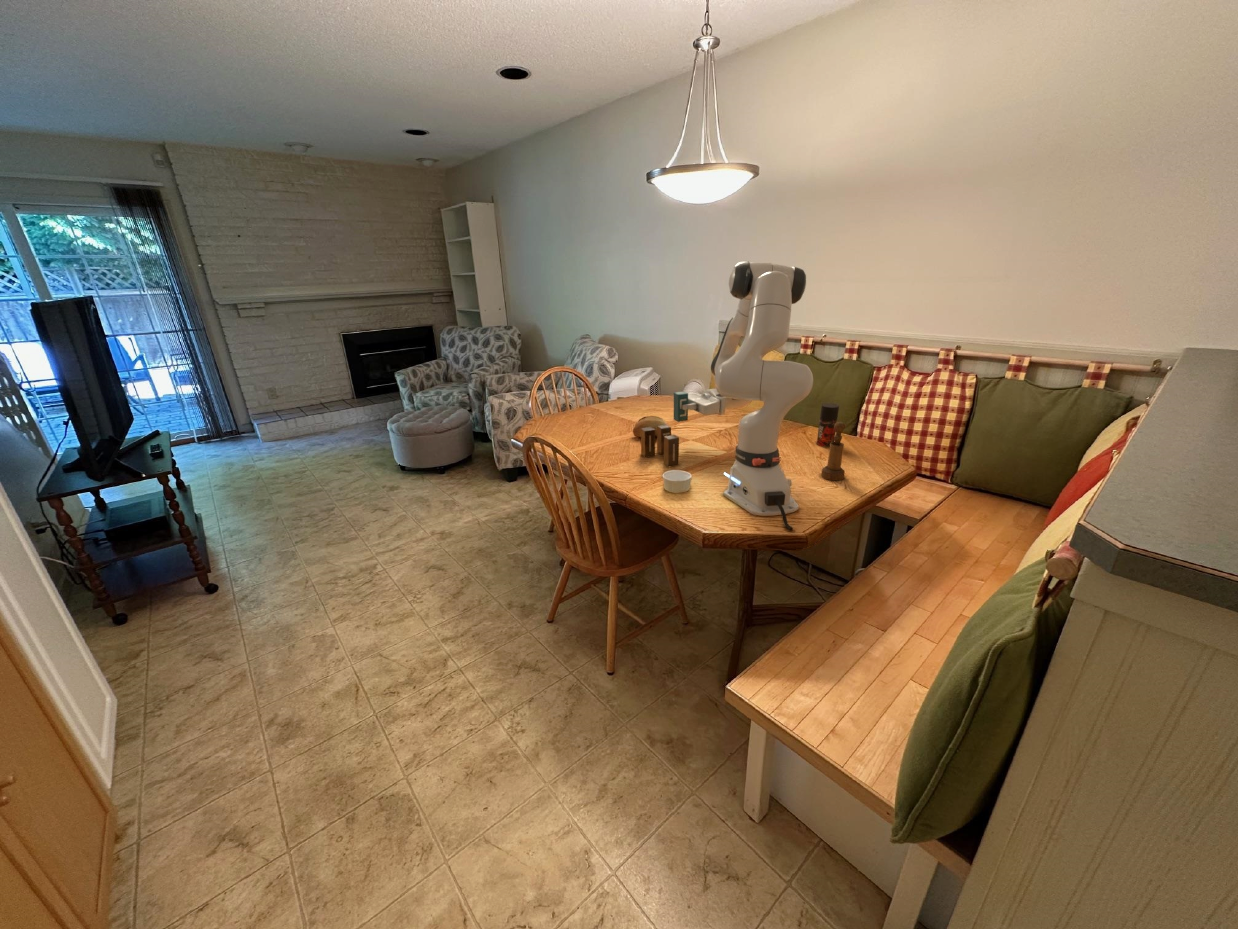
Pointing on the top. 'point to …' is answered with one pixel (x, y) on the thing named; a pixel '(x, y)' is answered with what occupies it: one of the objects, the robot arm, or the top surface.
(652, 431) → the tile
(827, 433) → the deodorant
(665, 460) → the tile
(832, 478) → the brown wooden tall figure
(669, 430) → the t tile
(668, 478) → the ramekin
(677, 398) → the s tile
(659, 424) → the bread roll
